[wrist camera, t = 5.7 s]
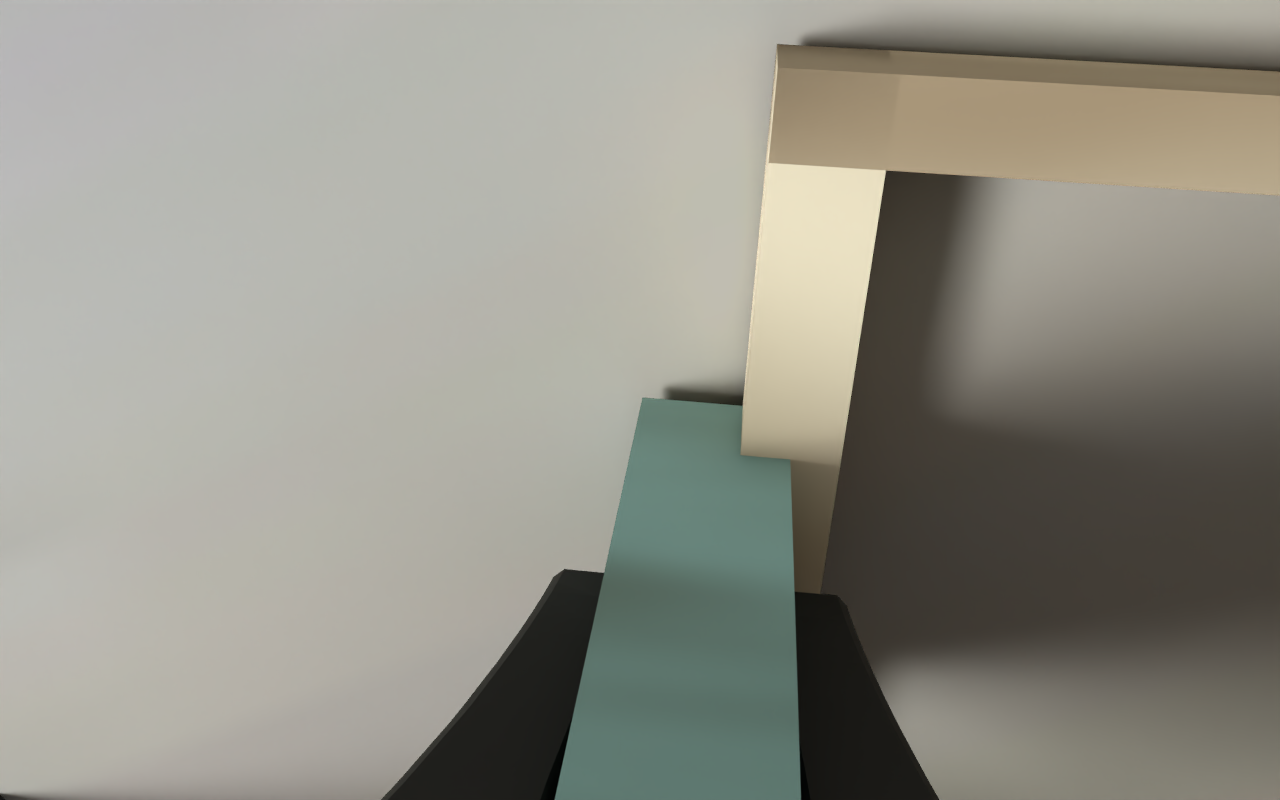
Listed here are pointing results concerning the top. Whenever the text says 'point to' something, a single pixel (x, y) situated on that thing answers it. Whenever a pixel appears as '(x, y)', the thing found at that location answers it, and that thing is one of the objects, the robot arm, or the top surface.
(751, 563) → the frame
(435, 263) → the top surface
